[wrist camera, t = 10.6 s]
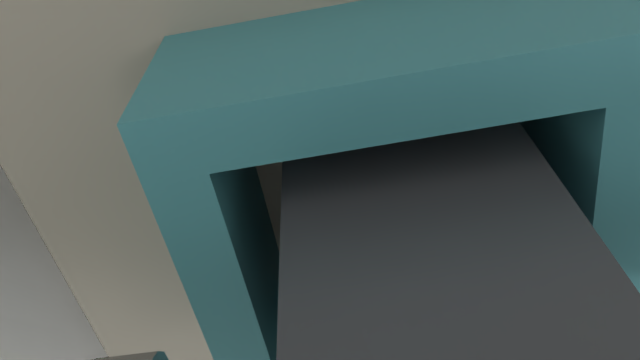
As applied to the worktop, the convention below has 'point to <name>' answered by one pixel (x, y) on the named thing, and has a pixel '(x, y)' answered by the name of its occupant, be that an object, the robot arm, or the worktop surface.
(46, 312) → the worktop surface
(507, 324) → the block
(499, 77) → the plate
